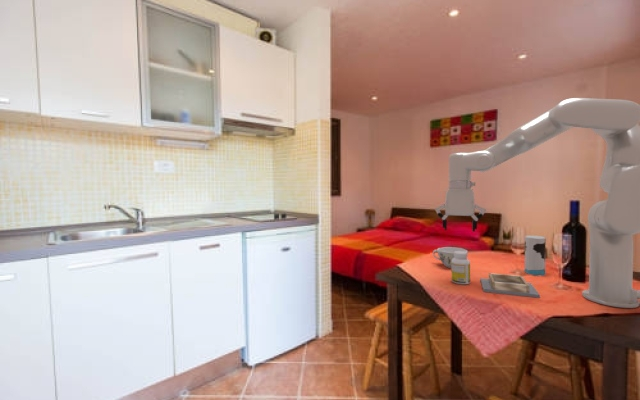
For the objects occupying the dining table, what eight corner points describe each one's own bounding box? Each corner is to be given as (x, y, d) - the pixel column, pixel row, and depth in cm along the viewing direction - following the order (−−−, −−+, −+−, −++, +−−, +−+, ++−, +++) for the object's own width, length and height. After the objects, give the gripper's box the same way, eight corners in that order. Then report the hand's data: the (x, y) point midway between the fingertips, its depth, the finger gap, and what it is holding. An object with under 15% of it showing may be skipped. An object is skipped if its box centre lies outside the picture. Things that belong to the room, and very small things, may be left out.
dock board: (530, 285, 104) (530, 282, 104) (539, 297, 93) (539, 294, 93) (480, 280, 111) (480, 278, 111) (483, 291, 100) (483, 289, 100)
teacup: (471, 265, 130) (471, 248, 129) (462, 272, 121) (462, 254, 120) (438, 260, 140) (438, 244, 140) (427, 266, 131) (427, 249, 131)
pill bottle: (466, 279, 113) (465, 250, 112) (473, 285, 106) (473, 254, 106) (449, 279, 113) (448, 250, 113) (455, 285, 107) (454, 254, 106)
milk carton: (549, 275, 114) (549, 238, 113) (532, 275, 114) (533, 238, 113) (536, 270, 121) (536, 235, 120) (520, 270, 121) (521, 235, 120)
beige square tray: (522, 282, 104) (522, 275, 104) (529, 293, 95) (529, 285, 95) (488, 279, 109) (488, 273, 109) (492, 289, 99) (492, 282, 99)
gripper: (484, 185, 108) (484, 229, 109) (435, 185, 115) (435, 227, 116) (487, 185, 101) (486, 233, 102) (434, 186, 108) (434, 230, 109)
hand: (459, 230), depth 109 cm, fingers open, 9 cm apart
